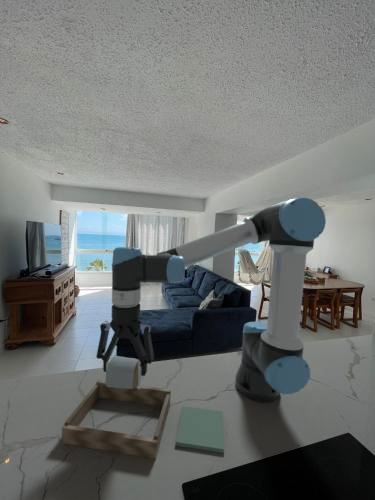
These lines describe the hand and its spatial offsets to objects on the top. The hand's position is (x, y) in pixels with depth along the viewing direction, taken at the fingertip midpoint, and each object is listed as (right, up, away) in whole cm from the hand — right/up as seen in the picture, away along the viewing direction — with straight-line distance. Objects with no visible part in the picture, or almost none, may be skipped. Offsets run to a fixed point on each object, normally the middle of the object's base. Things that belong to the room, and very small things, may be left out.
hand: (124, 384), depth 61 cm
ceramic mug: (0, -1, +1) cm, 1 cm away
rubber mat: (+21, -12, -1) cm, 24 cm away
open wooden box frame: (-1, -11, 0) cm, 11 cm away
